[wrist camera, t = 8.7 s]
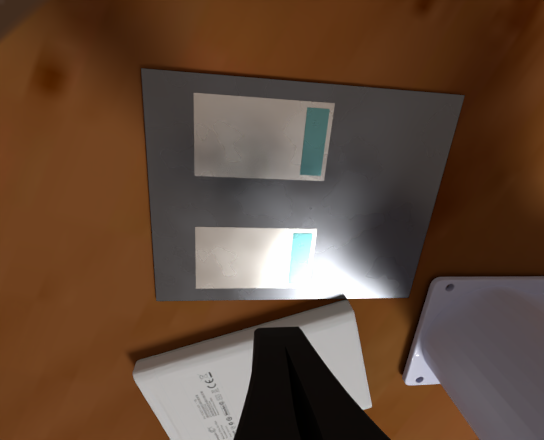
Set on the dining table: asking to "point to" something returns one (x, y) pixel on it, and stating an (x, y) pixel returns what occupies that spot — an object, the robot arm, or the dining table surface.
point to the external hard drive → (242, 373)
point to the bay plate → (290, 185)
